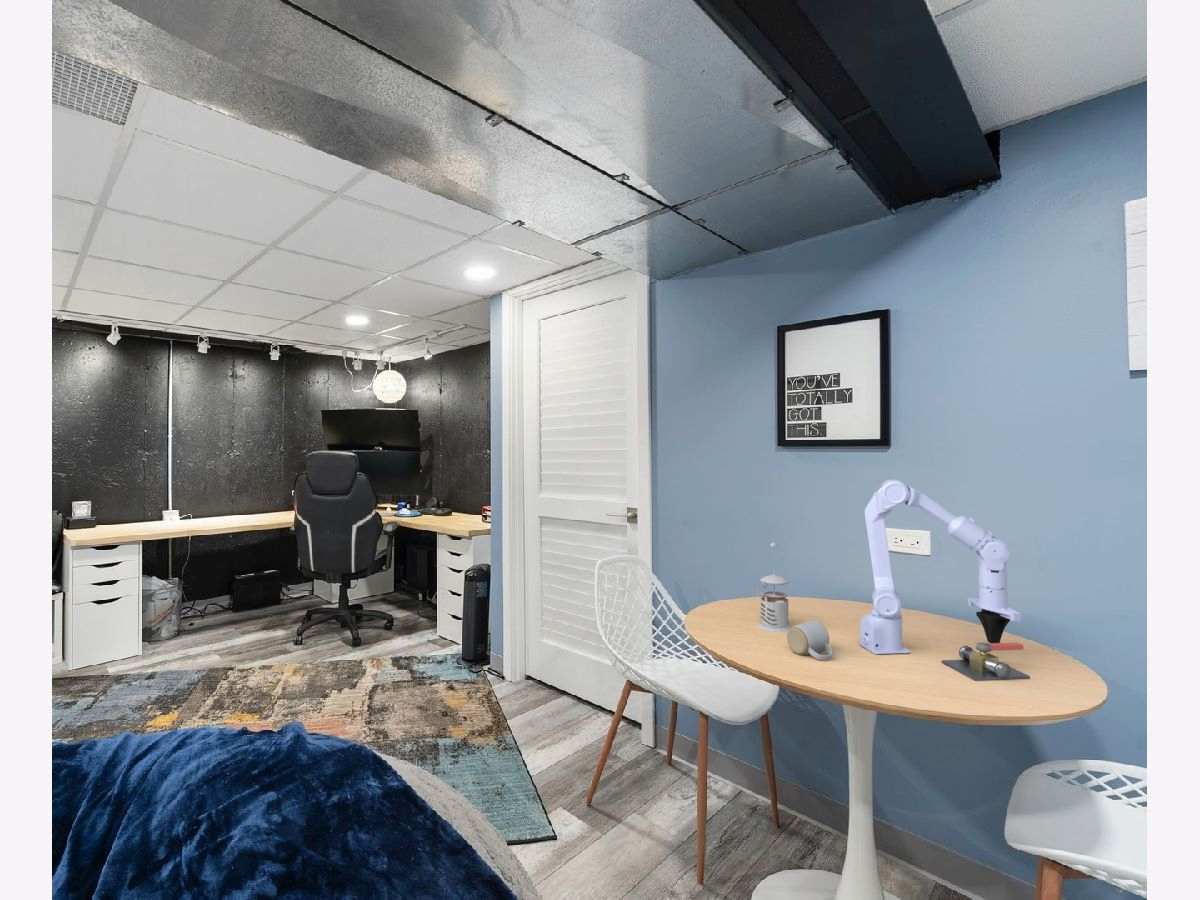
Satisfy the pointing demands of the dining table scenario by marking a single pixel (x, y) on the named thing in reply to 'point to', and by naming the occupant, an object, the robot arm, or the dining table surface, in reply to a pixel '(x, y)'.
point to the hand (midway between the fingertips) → (993, 642)
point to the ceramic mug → (809, 639)
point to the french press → (774, 604)
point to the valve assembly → (983, 666)
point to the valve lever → (998, 646)
